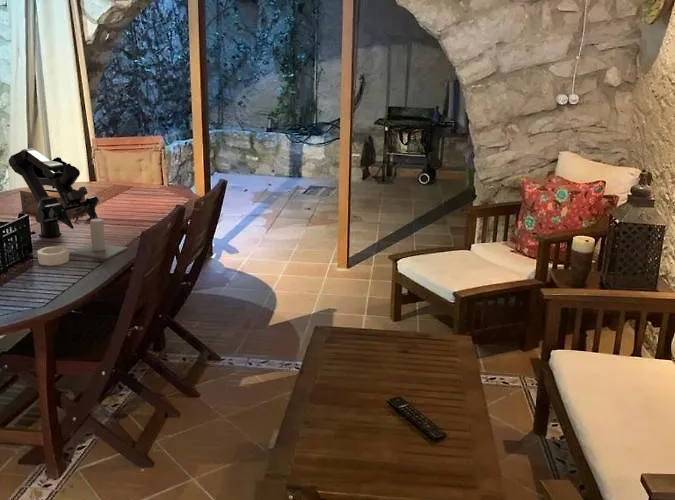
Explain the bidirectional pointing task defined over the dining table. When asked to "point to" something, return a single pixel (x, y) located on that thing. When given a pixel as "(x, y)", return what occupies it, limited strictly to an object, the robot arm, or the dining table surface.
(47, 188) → the tissue box cover
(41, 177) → the coal bowl
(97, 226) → the beverage can
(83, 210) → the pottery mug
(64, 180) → the robot arm
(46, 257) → the holder ring
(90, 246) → the rubber mat
